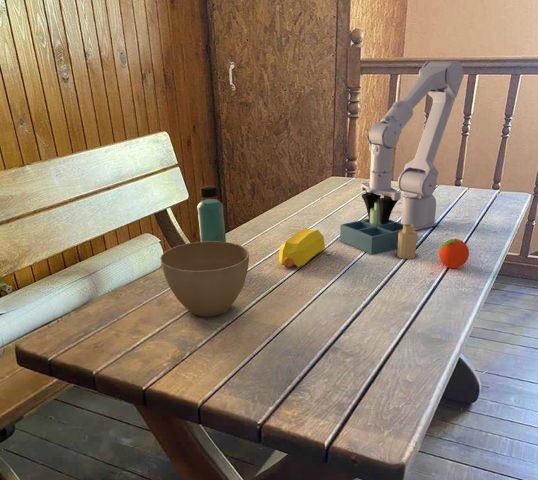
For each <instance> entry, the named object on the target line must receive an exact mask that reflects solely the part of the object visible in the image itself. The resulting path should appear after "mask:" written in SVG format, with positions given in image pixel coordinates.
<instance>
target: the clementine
mask: <svg viewBox="0 0 538 480" xmlns="http://www.w3.org/2000/svg"><path fill="white" fill-rule="evenodd" d="M469 256H470V249H469V246H468V245H467V243H466V242H464V241H463V240H461V239H458V238H451V239H449V240H448V239H447V240H446V241H445V242H443V244H442V245H441V246H440V248H439V250H438V258H439V261H440V262H441V264H442V265H443V266H444V267H446V268H449V269H458V268H460V267H462V266H464V265H465V264H466V263H467V261H468V259H469Z"/></svg>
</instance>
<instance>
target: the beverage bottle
mask: <svg viewBox="0 0 538 480" xmlns="http://www.w3.org/2000/svg"><path fill="white" fill-rule="evenodd" d="M199 191H200V193H199V196H200V197H201V198H205V199H203V200H201V201H200V202H199V203H198V204H197V206H196V207H197V216H198V225H199V237H200V238H199V240H200V242H204V241H220V242H227V236H226V224H225V216H224V205H223V203H222V202H221V201H220V200H219V199H215V198H216V197H218V195H219V194H218V189H217V186H215V185H205V186H201V187H200V188H199Z"/></svg>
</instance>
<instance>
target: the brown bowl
mask: <svg viewBox="0 0 538 480" xmlns="http://www.w3.org/2000/svg"><path fill="white" fill-rule="evenodd" d="M249 264H250V253H249V250H248V249H247V248H246V247H244V246H243V245H240V244H237V243H234V242H228V241H226V242H220V241H204V242H201V241H194V242H188V243H183V244H179V245H176V246H174V247H171V248H170V249H166V250H165V251H164V252H163V253H162V254H161V256H160V265H161V269H162V273H163V276H164V278H165V281H166V283H167V285H168V287H169V289H170V290H171V292H172V294H173V295H174V296H175V298H176V299H177V300H178V301H179V303H180V304H181V305H182V306H183V307H184V308H185V309H186V310H187V311H188V312H190V313H191V314H192V315H194V316H197V317H215V316H219V315H221V314H224V313H226V312H227V311H228V310H229V309H230V308H231V307H232V305H233V304H234V303H235V302H236V300H237V299H238V298H239V295H240V294H241V291H242V289H243V287H244V285H245V282H246V279H247V274H248V272H249V271H248V270H249Z"/></svg>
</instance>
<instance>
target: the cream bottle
mask: <svg viewBox="0 0 538 480" xmlns="http://www.w3.org/2000/svg"><path fill="white" fill-rule="evenodd" d="M417 240H418V232H417V230H415V231H414V225H412V224H405V225H403V230H401V231H399V235H398V248H396V249H397V251H396V256H397V258H399V259H405V260H409V259H410V260H411V259H414V258H415V257H416V254H417V253H416V252H417V242H418V241H417Z"/></svg>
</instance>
